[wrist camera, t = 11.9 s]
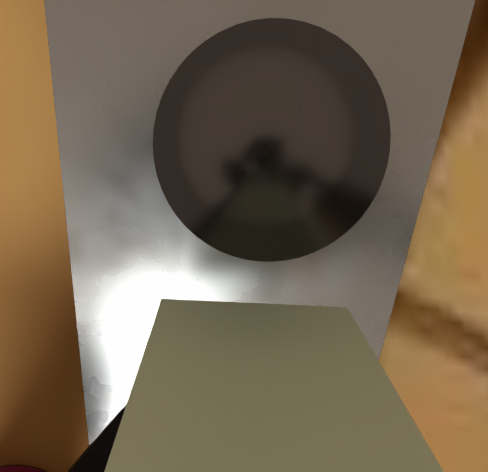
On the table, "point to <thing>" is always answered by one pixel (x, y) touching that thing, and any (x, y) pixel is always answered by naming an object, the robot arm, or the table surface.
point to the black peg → (271, 139)
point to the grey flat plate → (155, 204)
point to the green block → (263, 395)
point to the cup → (19, 469)
